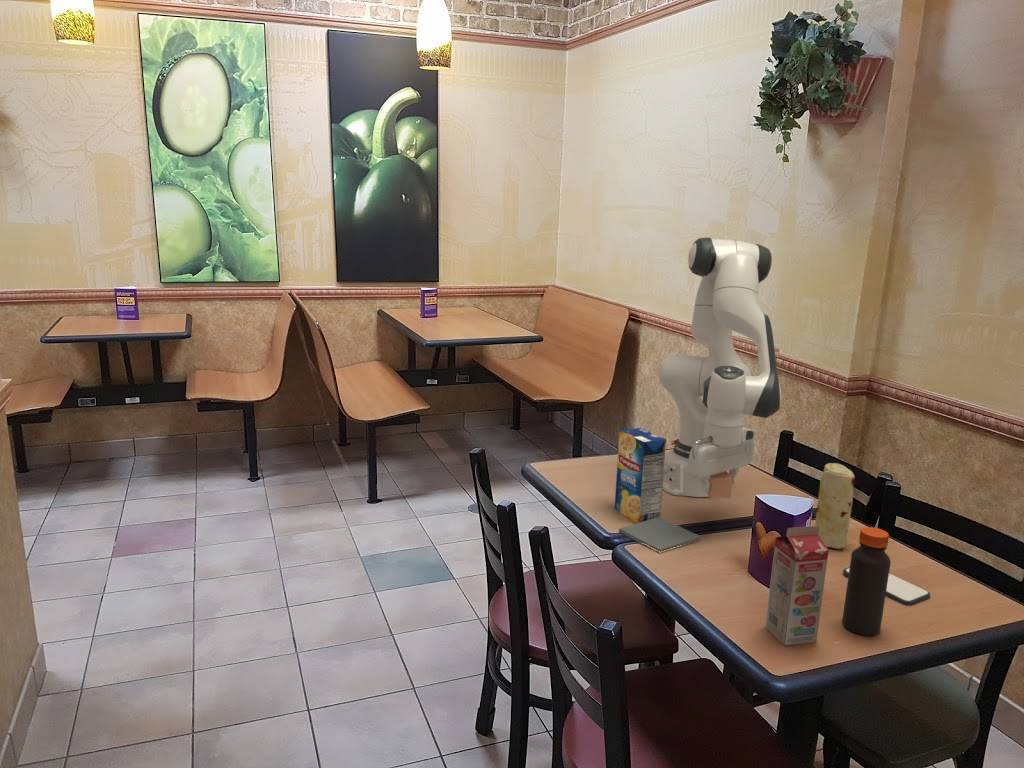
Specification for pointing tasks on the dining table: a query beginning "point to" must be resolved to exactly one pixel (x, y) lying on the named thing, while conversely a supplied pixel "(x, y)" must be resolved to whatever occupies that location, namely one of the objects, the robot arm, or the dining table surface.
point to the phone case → (901, 590)
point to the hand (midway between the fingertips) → (718, 487)
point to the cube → (720, 485)
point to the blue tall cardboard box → (639, 474)
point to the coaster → (659, 534)
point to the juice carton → (797, 585)
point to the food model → (835, 504)
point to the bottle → (867, 583)
